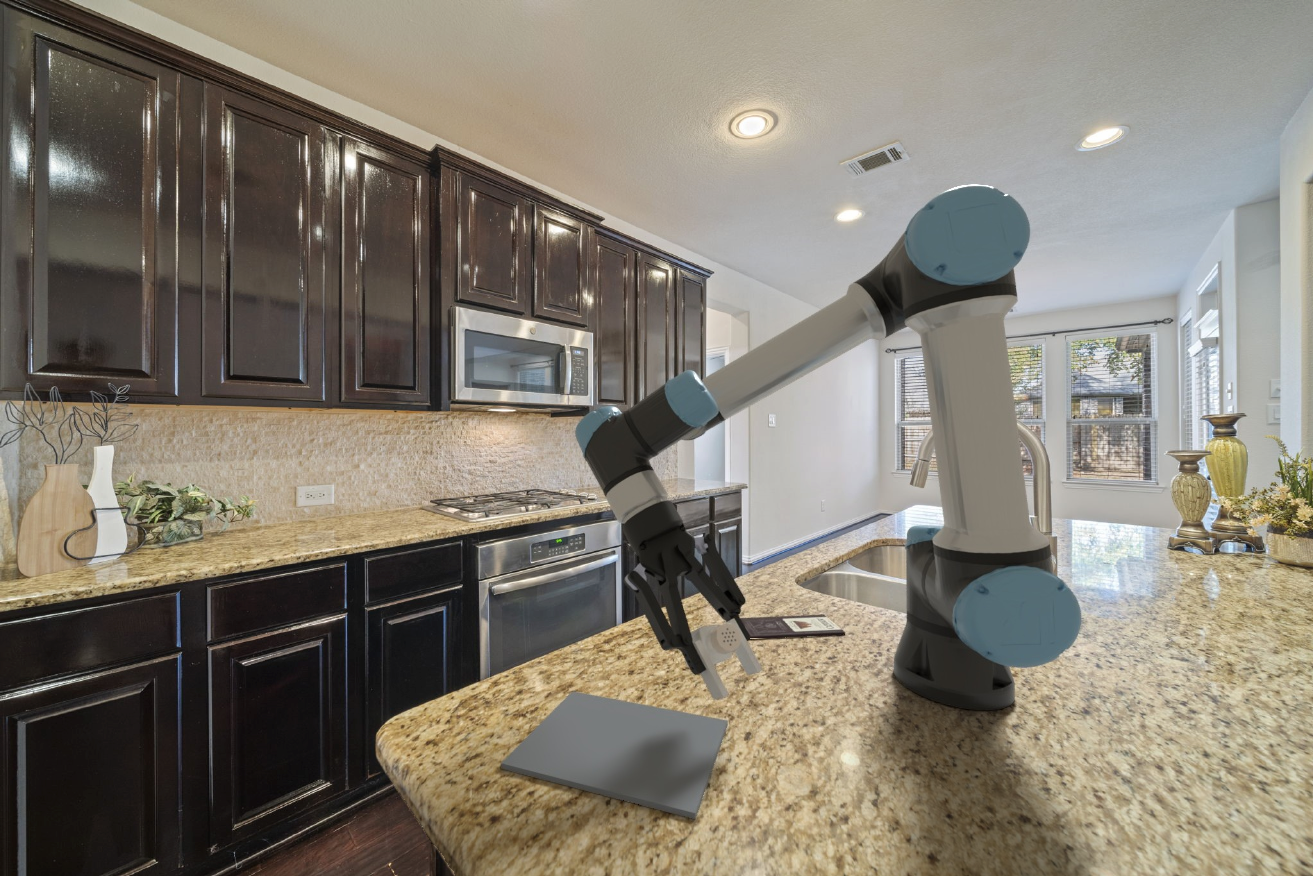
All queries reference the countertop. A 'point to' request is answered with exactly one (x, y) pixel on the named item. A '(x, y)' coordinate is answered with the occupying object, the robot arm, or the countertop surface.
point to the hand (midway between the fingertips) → (738, 684)
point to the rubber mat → (623, 752)
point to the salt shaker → (718, 641)
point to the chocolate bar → (791, 626)
